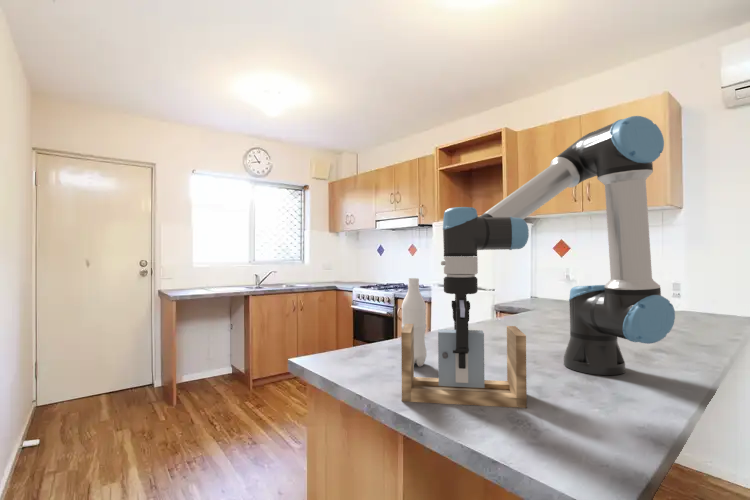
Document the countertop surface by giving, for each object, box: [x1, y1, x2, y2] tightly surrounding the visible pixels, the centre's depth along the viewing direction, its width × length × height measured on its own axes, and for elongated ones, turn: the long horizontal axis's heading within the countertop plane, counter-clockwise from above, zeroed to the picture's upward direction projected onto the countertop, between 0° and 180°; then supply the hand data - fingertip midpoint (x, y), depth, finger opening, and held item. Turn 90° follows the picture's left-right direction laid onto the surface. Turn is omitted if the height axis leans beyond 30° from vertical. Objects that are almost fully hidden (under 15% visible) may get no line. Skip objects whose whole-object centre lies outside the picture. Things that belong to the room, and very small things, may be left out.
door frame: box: [400, 324, 528, 409], centre depth 89 cm, size 26×11×15 cm, turn 81°
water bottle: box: [400, 277, 427, 368], centre depth 114 cm, size 7×7×25 cm
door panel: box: [437, 328, 485, 388], centre depth 89 cm, size 10×4×12 cm, turn 81°
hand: (461, 378), depth 89 cm, fingers closed on door panel, 3 cm apart
